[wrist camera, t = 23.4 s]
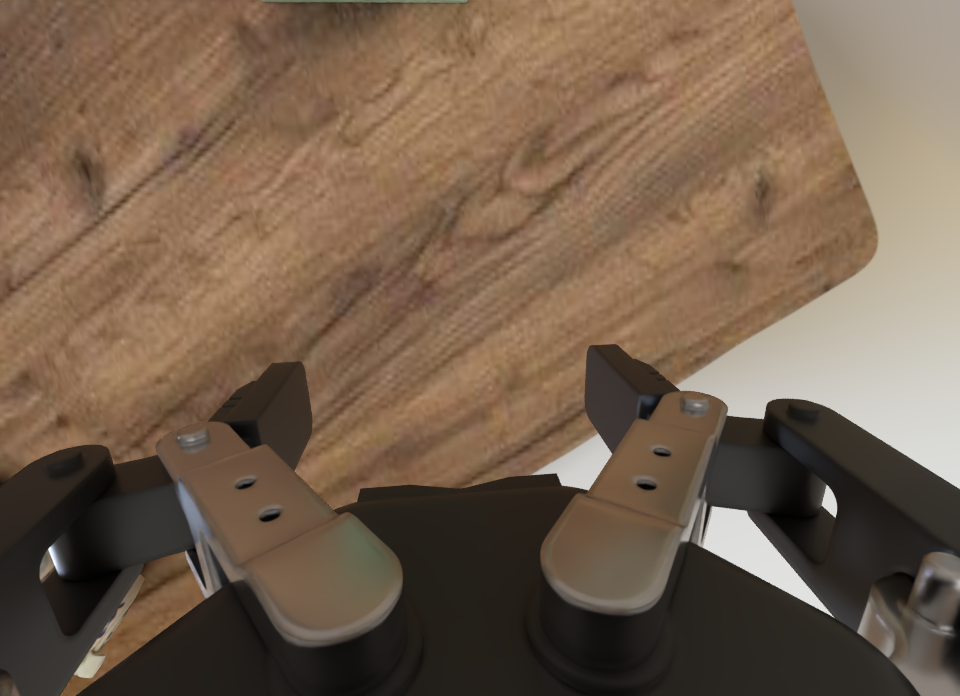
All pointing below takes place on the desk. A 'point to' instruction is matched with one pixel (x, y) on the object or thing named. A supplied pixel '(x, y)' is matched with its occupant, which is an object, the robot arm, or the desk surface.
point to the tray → (405, 0)
